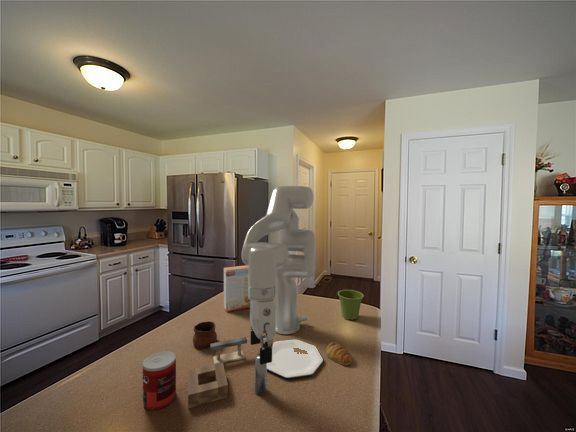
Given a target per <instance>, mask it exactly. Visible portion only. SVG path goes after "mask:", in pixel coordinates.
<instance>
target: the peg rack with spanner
mask: <svg viewBox="0 0 576 432" xmlns="http://www.w3.org/2000/svg"><path fill="white" fill-rule="evenodd" d="M245 344H248V339H247V337H246V336H244V337H239V338H233V339H228V340H223V341H219V342H217V341H216V342H215V343H212V344H210V347H209V348H210V351H215V350H216V355H214V356H213V357H212V359H213V365H215V364H220V363H223V364H226V363H230V362H236V361H239V360H244V359H245V358H246V356H245V354H244V351H243V350H242V345H245ZM236 346H237V350H236V351H232V352H228V353H223V354H221V349H225V348H230V347H236Z"/></svg>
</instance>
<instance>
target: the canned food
mask: <svg viewBox="0 0 576 432" xmlns="http://www.w3.org/2000/svg"><path fill="white" fill-rule="evenodd" d="M176 394H177V357H176V354H175V352H173V351H169V350H165V351H164V350H163V351H158V352H154V353H152V354H151V355H149V356H147V357H146V358H145V359H144V360H143V362H142V403H143V406H144V407H145V408H146V409H147V410H151V411H152V410H153V411H155V410H160V409H163V408H165V407H167V406H169V405H170V404H171V403H172V402H173V400H174V399H175V397H176Z"/></svg>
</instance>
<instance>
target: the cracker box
mask: <svg viewBox="0 0 576 432" xmlns="http://www.w3.org/2000/svg"><path fill="white" fill-rule="evenodd" d="M248 270H249V266H247V265H245V264H244V265H237V266H228V267H227V266H226V267H223V308H224V310H225V312H226V313H228V312H233V311H237V310H238V311H239V310H243V309H250V303H251V300H250V299H249V298H248Z"/></svg>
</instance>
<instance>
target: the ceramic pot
mask: <svg viewBox="0 0 576 432" xmlns="http://www.w3.org/2000/svg"><path fill="white" fill-rule="evenodd" d="M193 331H194V334H193V337H192V342H193V343H192V344H193V347H194V346H195V347H196V349H198V348H199V350H201V349H202V350H203V348H204V349H208V348H210V344H212V343H217V339H218V333H217V331H216V323H215V322H214V321H203V322H198V324H196V325H194V326H193ZM195 347H194V348H195Z"/></svg>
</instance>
